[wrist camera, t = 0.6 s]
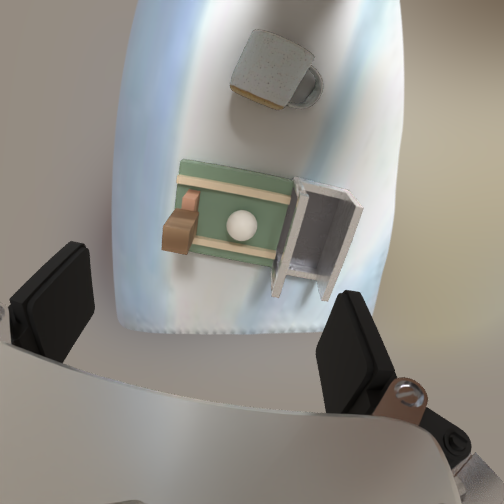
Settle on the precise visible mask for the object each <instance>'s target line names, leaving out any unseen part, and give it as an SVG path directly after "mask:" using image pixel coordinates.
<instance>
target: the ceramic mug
mask: <svg viewBox="0 0 504 504" xmlns="http://www.w3.org/2000/svg"><path fill="white" fill-rule="evenodd" d="M313 61H314V56H313V54H312V53H310V52H309V51H308V50H306V49H305V48H303V47H302V46H300V45H298V44H296V43H295V42H292V41H290V40H288V39H286V38H284V37H281V36H279V35H276V34H274V33H271V32H268V31H264V30H254V31H253V32H252V34H251V36H250V38H249V40H248V42H247V44H246V46H245V48H244V51H243V53H242V55H241V57H240V60H239V62H238V64H237V66H236V68H235V70H234V72H233V75H232V78H231V82H230V88H231V90H232V91H234V92H235V93H237V94H239V95H241V96H244V97H246V98H248V99H250V100H253V101H255V102H257V103H260V104H262V105H265V106H267V107H269V108H272V109H275V110H281V109H283V108H284V107H285V106H286V105H288V106H290V107H292V108H296V109H305V108H308V107H310V106H312V105H313V104H314V103H315V102H316V101H317V100H318V99H319V97H320V96H321V94H322V91H323V81H322V78H321V76H320V74H319V73H318V71H317V70H316V69H315V68H314V67H313V66H312V65H311V64H312V62H313ZM308 69H309V70H310V71H311V72H312V74H313V75H314V77H315V81H316V84H315V88H314V89H313V91H312V92H311V94H310V95H309V97H307V98H306V100H305V102H303V103H299V104H294V103H290V102H289V101H290V99H291V98H292V96H293V94H294V92H295V90H296V88H297V87H298V85H299V83H300V82H301V80H302V78H303V77H304V75H305V74H306V72H307V70H308Z"/></svg>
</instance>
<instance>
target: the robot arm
mask: <svg viewBox="0 0 504 504" xmlns="http://www.w3.org/2000/svg"><path fill="white" fill-rule="evenodd" d="M10 303H11V305H10V306H9V307H7V306H6V305H5V304H3V303H1V302H0V504H502V502H503V500H504V483H503V481H502V480H501V479H500V478H499V477H498V476H497V475H496V474H495V472H494V471H493V470H492V469H491V468H490V467H489V466H488V465H487V464H486V463H485V462H484V461H483V460H482V458H481V457H480V456H479V455H478V454H477V453H476V452H475V453H474V454H473V455H472V454H471V453H470V452H471V441H470V439H469V437H468V436H467V434H466V433H465V432H464V431H463V430H461V429H460V428H458V427H457V426H455V425H454V424H452V423H451V422H449V421H447V420H446V419H444V418H443V417H441V416H440V415H438V414H436V413H435V412H433V411H432V410H430V409H429V408H427V407H426V406H427V402H428V396H427V393H426V391H425V389H424V388H423V387H422V386H421V385H420V384H419V383H418V382H416V381H415V380H413V379H410V378H405V377H400V378H397V376H396V373H395V369H394V367H393V365H392V362H391V360H390V357H389V355H388V353H387V350H386V348H385V346H384V343H383V341H382V339H381V337H380V334H379V332H378V330H377V327H376V325H375V323H374V321H373V319H372V316H371V314H370V312H369V310H368V308H367V305H366V303H365V301H364V299H363V297H362V295H361V293H360V292H356V291H349V290H345V291H344V292H343V293H339V294H338V296H337V298H336V301H335V303H334V306H333V308H332V311H331V313H330V316H329V318H328V321H327V323H326V326H325V328H324V330H323V333H322V335H321V338H320V340H319V342H318V345H317V348H316V359H317V364H318V370H319V375H320V381H321V386H322V392H323V397H324V403H325V409H326V413H313V412H299V411H286V410H274V409H263V408H255V407H247V406H239V405H232V404H225V403H219V402H212V401H206V400H201V399H195V398H190V397H185V396H179V395H175V394H170V393H165V392H161V391H156V390H152V389H148V388H144V387H140V386H136V385H131V384H128V383H124V382H121V381H117V380H113V379H110V378H106V377H103V376H99V375H96V374H93V373H90V372H87V371H83V370H80V369H77V368H74V367H71V366H68V365H66V364H63V361H64V360H65V358H66V357H67V355H68V353H69V352H70V350H71V348H72V347H73V345H74V344H75V342H76V340H77V339H78V337H79V336H80V334H81V332H82V331H83V329H84V328H85V326H86V325H87V323H88V322H89V320H90V319H91V317H92V315H93V313H94V310H95V304H94V296H93V287H92V278H91V269H90V255H89V250H88V248H86V246H85V244H83V243H78V242H73V241H70V242H69V243H68V244H66V245H65V247H63V248H62V249H61V250H60V251H59V252H57V253H56V254H55V255H54V256H53V257H52V258H51V259H50V260H49V261H48V262H47V263H46V264H44V265H43V266H42V267H41V268H40V269H39V270H38V271H37V272H36V273H35V274H34V275H33V276H32V277H31V278H30V279H29V280H28V281H27V282H26V283H25V284H24V285H23V286H22V287H21V288H20V289H19V290H18V291H17V292H16V293H15V294H14V295H13V296H12V297H11V298H10Z"/></svg>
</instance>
